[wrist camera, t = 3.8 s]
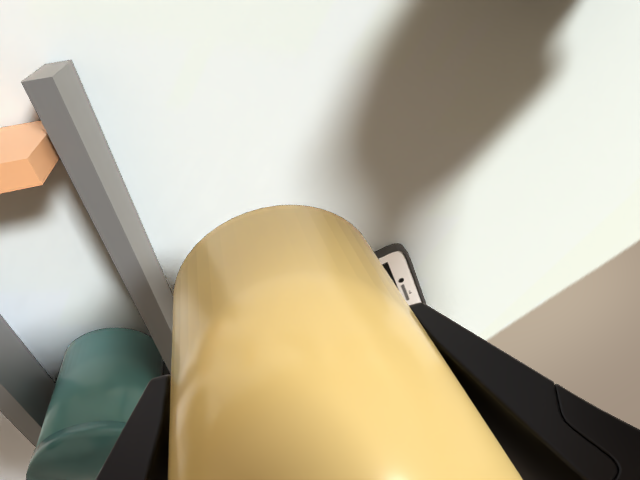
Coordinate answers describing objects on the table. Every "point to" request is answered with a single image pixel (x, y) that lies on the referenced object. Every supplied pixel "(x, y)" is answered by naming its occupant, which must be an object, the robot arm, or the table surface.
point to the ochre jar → (311, 364)
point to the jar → (93, 402)
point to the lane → (112, 225)
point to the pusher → (25, 156)
